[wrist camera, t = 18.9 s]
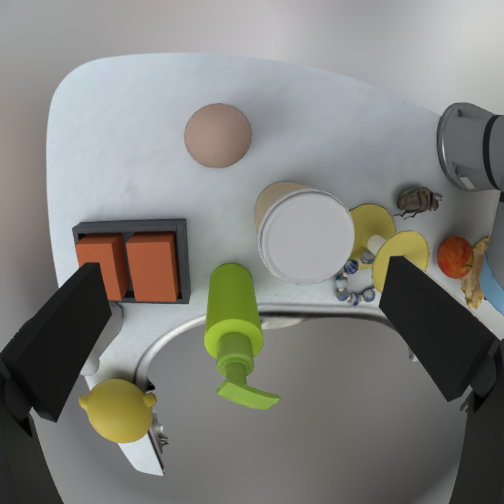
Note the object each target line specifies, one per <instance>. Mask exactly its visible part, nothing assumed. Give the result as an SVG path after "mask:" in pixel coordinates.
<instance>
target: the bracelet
mask: <svg viewBox="0 0 504 504" xmlns="http://www.w3.org/2000/svg"><path fill="white" fill-rule="evenodd" d="M375 257H376V256H375V255H374V254H373V253H372V252H371V251H364V252H363V253H362V255H361V259H357V262H356V261H355V260H353V259H349V260H347V262H346V263H345V265H344V270H345V271H343V273H342V274H339V275H337V276H336V277H335V279H334V284H335V286H336V287H337V288H338V290H337V291H336V297H337V299H338V300H340V301H345V300H347V301H348V303H349V304H350V305H351V306H356V305H358V304H359V302H360V301H363V300H364V301H366V302H371V301H373V300H374V299H375V293H378V290H377V289H376V288H374V289H373V290H371V289H368V290H366V291H364V293H363V295H360V296H359V295H358V294H356V293H352V294H350V295H349V292H348V290H347V289H346V288H344V287H346V286H347V283H348V279H347V277H348V275H349V274H353V273H355V272H356V271H357V270H358V265H361V264H362V263H363V264H365V265H371V264H372V263H373V262H374V259H375Z"/></svg>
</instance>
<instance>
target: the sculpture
mask: <svg viewBox="0 0 504 504" xmlns="http://www.w3.org/2000/svg"><path fill="white" fill-rule="evenodd" d="M156 402H157V400H156V397H155V395H154V394H153V393H152V392H151V393H148V394H145V393H144V392H143V391H142V390H141V389H140V388H139V387H137V386H136V385H134V384H133V383H131V382H128V381H126V380H122V379H108V380H105V381H102V382H100V383H98V384H97V385H96V386H95V387H94V388H93V389H92V390H91V392H90V394H89V395H88V396H85V395H81V396H80V398H79V404H80V406H81V407H82V408H83V409H85V410H86V411H87V415H88V418H89V420H90V422H91V424H92V426H93V427H94V428H95V430H96V431H97V432H98V433H99V434H101V435H102V436H103V437H105V438H106V439H108V440H111V441H114V442H118V443H129V442H134V441H137V440H139V439H141V438H142V437H143V436H144V435H145V434H146V433H147V432H148V430H149V428H150V426H151V424H152V418H153V413H152V406H154V405H155V404H156Z"/></svg>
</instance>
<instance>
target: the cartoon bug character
mask: <svg viewBox="0 0 504 504" xmlns="http://www.w3.org/2000/svg"><path fill="white" fill-rule="evenodd" d="M490 237H491V235H490ZM490 237H488V236H486V238H484V239H483V240H481V242H480V241H479V242H478V243H477V244H476V245H475V246H473V247H474V249H473V251H474V263H473V267H472V269H471V270H470V272H469V273H468V274H467V275H465V276H464V277H462V278H461V280H462V284H461V285H462V287H461V290H462V291H463V292H464V293H465V300H466V299H467V300H466V302H467V305H468V306H469V308H470V307H472V306H473V307H475V309H476V308H477V307H478V306H480V304H481V300H482V297H484V300H487V299H486V297H485V295H484V294H483V291H482V289H481V287H480V283H479V275H480V272H481V268H482V265H483V261H484V253H485V251H486V250H487V247H488V244H489V241H490Z"/></svg>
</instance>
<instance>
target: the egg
mask: <svg viewBox="0 0 504 504" xmlns="http://www.w3.org/2000/svg"><path fill="white" fill-rule="evenodd" d="M251 136H252V133H251V127H250V124H249V122H248V120H247V118H246V117H245V116H244V114H243V113H242V112H241V111H240V110H238V109H237V108H235V107H233V106H230V105H227V104H221V103H218V104H210V105H207V106H205V107H202V108H201V109H199V110H198V111H196V112H195V113H194V114H193V115H192V117H191V118H190V119H189V121H188V123H187V125H186V128H185V133H184V139H185V145H186V148H187V150H188V152H189V154H190V155H191V156H192V157H193V159H194V160H196V161H197V162H198V163H200V164H202V165H204V166H207V167H211V168H222V167H228V166H230V165H232V164H234V163H236V162H238V161H239V160H240V159H241V158H242V157H243V156H244V155H245V154H246V152H247V150H248V148H249V146H250V143H251Z"/></svg>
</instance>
